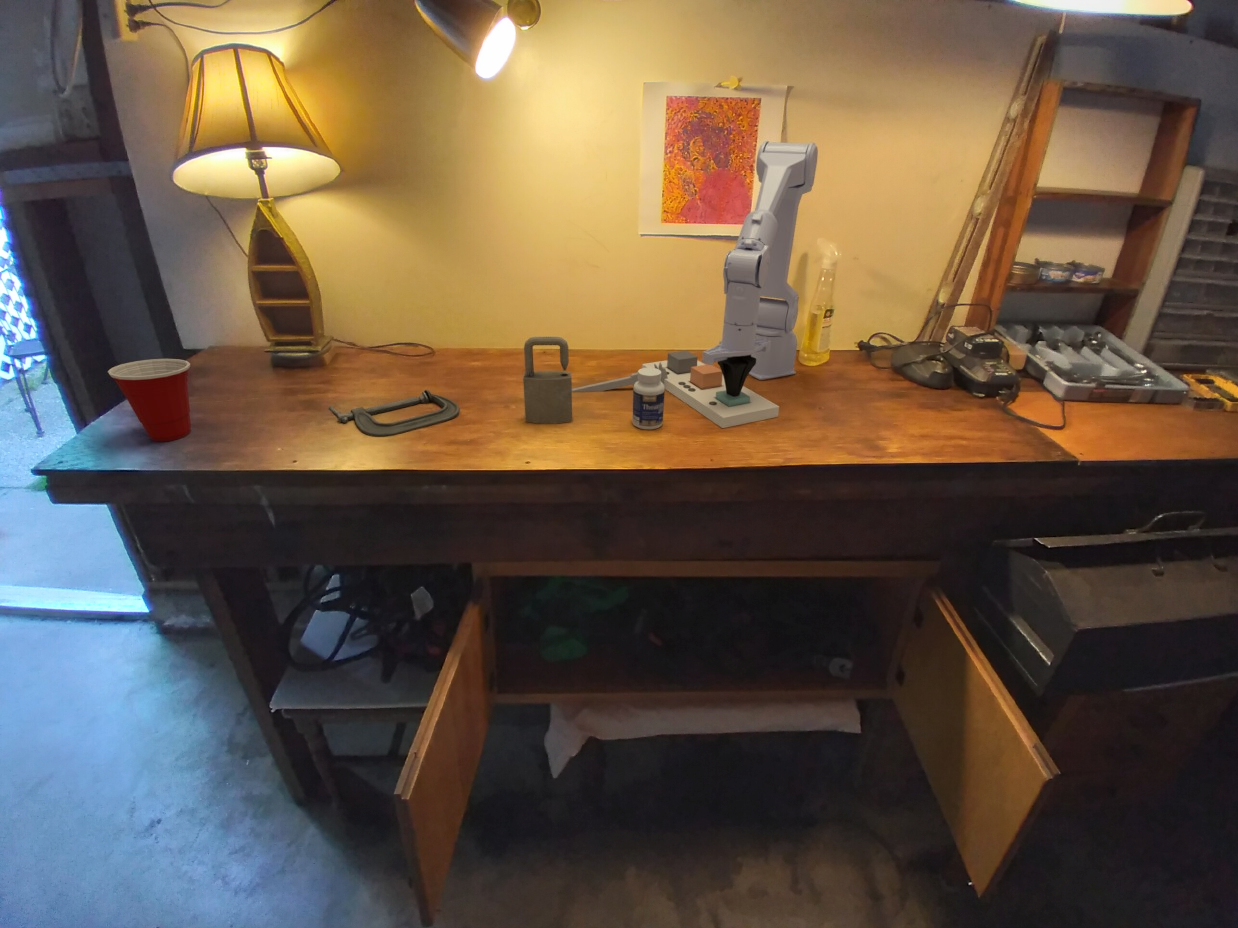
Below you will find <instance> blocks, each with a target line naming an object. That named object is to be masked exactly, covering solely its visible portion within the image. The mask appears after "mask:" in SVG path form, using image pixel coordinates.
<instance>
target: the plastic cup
mask: <svg viewBox="0 0 1238 928" xmlns="http://www.w3.org/2000/svg"><path fill="white" fill-rule="evenodd" d="M190 367H191V363H190V362H189V361H187V360H184V359H178V358H177V359H176V358H157V359H156V358H154V359H153V358H151V359H143V360H137V361H130V362H127V363H121V364H119V365H115V366H114V367H111V368H110V369H109V370H108V371H107V373H108V374H109V376H110V377H111V378H112V379H113V380H114V381H115V382H116V384H117V385H118V387H119V389H120V390H121V392H122V393H123V395H124V396H125V398H126V400H127V401H128V403H129V405H130V407H131V409H132V410H133V412H134V413H135V414H134V415H135V416H136V417H137V419H138V421H139V423H141V424H142V426H143V429H144V430H145V432H146V433H147V435H148V437H149V438H150V439H151V440H152V441H154V442H163V443H164V442H171V441H175V440H180V439H182V438H184V437H186V436H188V435H189V434H190V433H191V431H192V429H191V428H192V423H191V415H190V412H191V409H190V400H189V399H190V398H189V389H188V387H189V386H188V382H189V381H188V376H189V373H188V372H189V369H190Z"/></svg>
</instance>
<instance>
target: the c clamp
mask: <svg viewBox="0 0 1238 928" xmlns="http://www.w3.org/2000/svg"><path fill="white" fill-rule="evenodd" d="M420 403H421V404H430V403H434V404H437V405H438V406H440V409H439V410H435V411H432V412H429V413H425V414H421V415H417V416H413V417H409V418H405V419H402V420H397V421H394V422H393V421H392V422H380V421H377V420H376V419H375V418H374V417H373V415H377V414H382V413H386V412H390V411H393V410H398V409H402V408H403V409H404V408H406V407H412V406H416V405H418V404H420ZM328 410H329V411H330V412H332V413H333V414H334V415H336V416H337V420H338V422H339V423H341V422H342V423H345V424H346V423H347V422H349V421H353V420H354V422H355V424H356V426H357V428H358V429H359V430H360V431H361V432H362V433H363V434H364V435H366V436H370V437H377V438H381V437H382V438H384V437H392V436H396V435H401V434H404V433H409V432H412V431H416V430H420V429H423V428H426V427H430V426H434V425H438V424H442V423H446V422H449V421H452V420H453V419H455V418H457V417H458V415H459V414H460V411H461V408H460V406H459V404H457V403H456V402H455V401H453V400H451V399H449V398H447V397H445V396H441V395H438V394H433V393H431V391H430V390H429V389H425V390H424V391H422V392H421V395H420V396H414V397H411V398H406V399H401V400H398V401H393V402H389V403H384V404H380V405H376V406H375V405H374V406H371V407H368V408H364V407H363V406H362V407H355V408H351V409H350V412H346V413H340V411H338V410H336V409H335V407H334V406H332V405H329V406H328Z"/></svg>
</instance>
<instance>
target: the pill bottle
mask: <svg viewBox="0 0 1238 928" xmlns="http://www.w3.org/2000/svg"><path fill="white" fill-rule="evenodd" d="M637 372H638V380H639V381H637V382H636V383H635V384H634V387H632V388H633V389H632V391H633V392H632V424H633V425H634V426H635V427H636V428H638V429H641V430H655V429H658V428H660V427H662V426H663V424H664V410H665V408H664V407H665V394H666V389H665V386H664V384H663V383H662V382H660V381H661V371H660V370H659V369H656V368H642V367H641V368H640V369H639V370H637Z"/></svg>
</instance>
